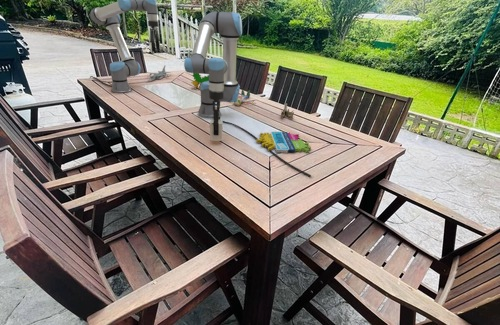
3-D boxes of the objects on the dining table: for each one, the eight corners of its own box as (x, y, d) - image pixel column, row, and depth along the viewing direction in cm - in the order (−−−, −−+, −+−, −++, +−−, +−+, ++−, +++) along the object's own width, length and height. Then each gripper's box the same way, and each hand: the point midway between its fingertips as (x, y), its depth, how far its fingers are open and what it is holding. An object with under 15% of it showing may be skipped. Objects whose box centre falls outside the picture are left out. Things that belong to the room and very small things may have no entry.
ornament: (208, 92, 257) (212, 77, 255) (210, 92, 249) (214, 76, 248) (188, 85, 249) (191, 70, 247) (189, 85, 241) (193, 69, 239)
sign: (313, 150, 142) (258, 149, 139) (312, 153, 143) (258, 152, 140) (301, 132, 164) (254, 130, 161) (301, 134, 165) (254, 133, 162)
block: (222, 136, 149) (222, 119, 144) (222, 141, 144) (222, 123, 139) (210, 136, 149) (210, 119, 144) (209, 140, 143) (209, 123, 138)
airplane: (140, 75, 284) (139, 65, 279) (170, 73, 298) (169, 64, 293) (146, 83, 256) (144, 73, 251) (178, 81, 269) (177, 71, 264)
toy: (261, 91, 228) (254, 99, 202) (261, 99, 231) (253, 108, 205) (231, 87, 233) (220, 95, 207) (230, 95, 236) (219, 104, 210)
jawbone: (291, 106, 199) (293, 98, 190) (292, 123, 193) (294, 114, 184) (278, 106, 199) (280, 97, 190) (279, 122, 193) (281, 114, 184)
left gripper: (152, 20, 209) (155, 48, 220) (143, 20, 188) (147, 52, 198) (161, 20, 210) (164, 49, 220) (154, 21, 188) (157, 53, 199)
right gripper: (210, 85, 141) (210, 125, 153) (207, 95, 125) (208, 139, 136) (224, 86, 142) (223, 126, 153) (223, 96, 125) (222, 139, 136)
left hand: (156, 50), depth 209 cm, fingers open, 13 cm apart
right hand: (216, 132), depth 144 cm, fingers closed on block, 6 cm apart
